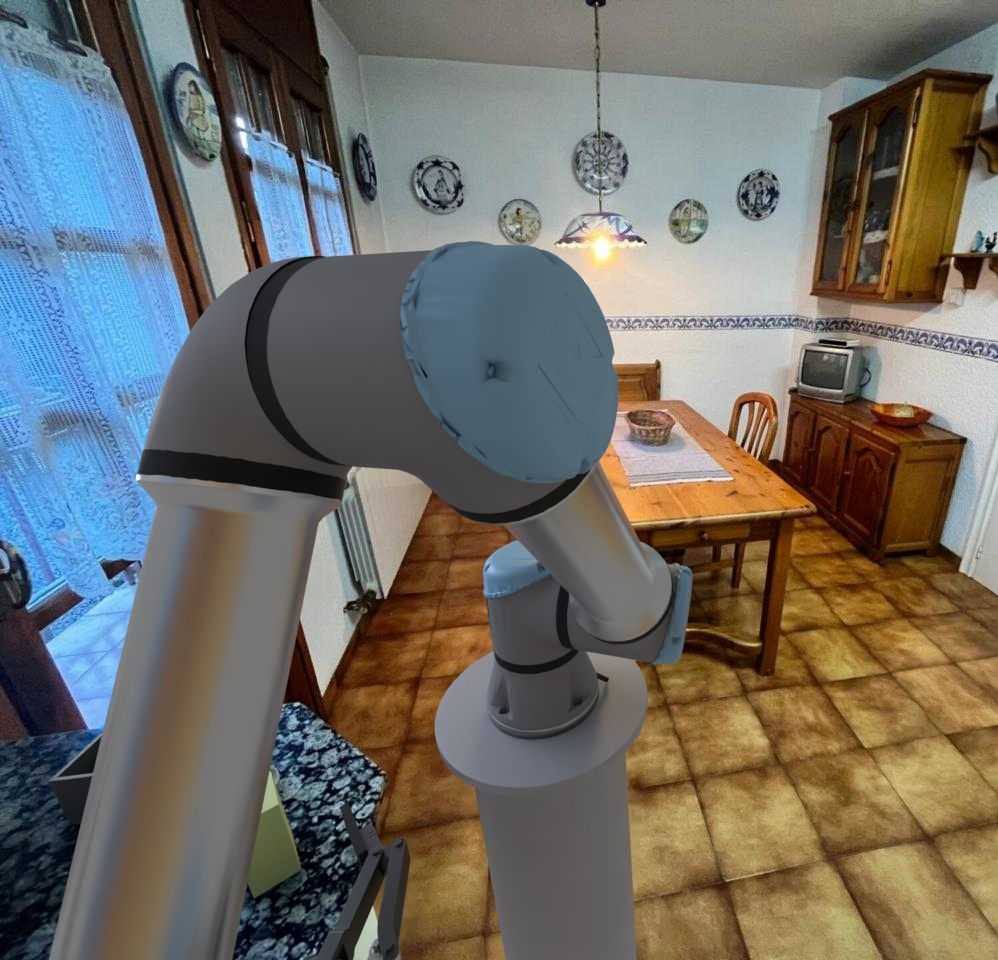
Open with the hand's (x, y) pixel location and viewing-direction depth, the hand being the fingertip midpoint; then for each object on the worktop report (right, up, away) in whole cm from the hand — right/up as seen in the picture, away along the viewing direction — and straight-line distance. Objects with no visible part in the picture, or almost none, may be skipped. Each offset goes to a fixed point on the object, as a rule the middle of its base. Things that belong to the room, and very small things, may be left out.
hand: (265, 861), depth 47 cm
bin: (-25, -2, +16) cm, 30 cm away
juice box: (-3, -5, +6) cm, 8 cm away
